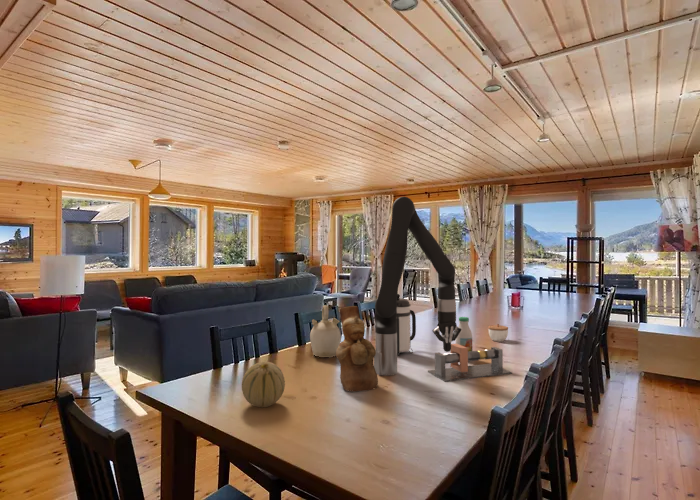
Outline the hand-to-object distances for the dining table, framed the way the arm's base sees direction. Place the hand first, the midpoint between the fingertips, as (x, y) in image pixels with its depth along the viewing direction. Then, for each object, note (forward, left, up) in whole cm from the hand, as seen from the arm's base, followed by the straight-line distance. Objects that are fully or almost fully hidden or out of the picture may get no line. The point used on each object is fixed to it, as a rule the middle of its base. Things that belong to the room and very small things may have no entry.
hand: (447, 351), depth 173 cm
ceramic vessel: (-39, +3, -10) cm, 41 cm away
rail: (+11, 0, -10) cm, 15 cm away
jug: (-39, +50, -10) cm, 65 cm away
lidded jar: (+62, +47, -10) cm, 78 cm away
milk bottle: (+21, +19, -10) cm, 30 cm away
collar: (+6, 0, -8) cm, 10 cm away
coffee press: (-2, +42, -10) cm, 43 cm away
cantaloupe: (-76, -8, -10) cm, 77 cm away
